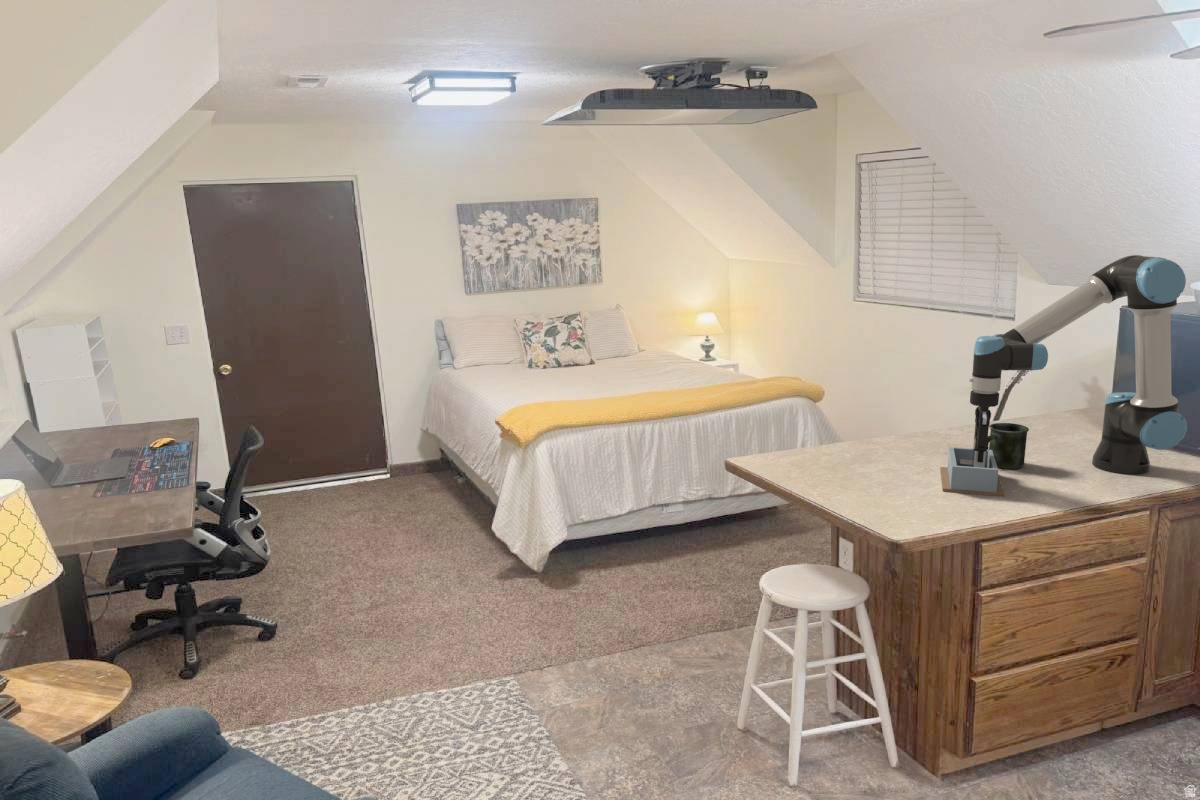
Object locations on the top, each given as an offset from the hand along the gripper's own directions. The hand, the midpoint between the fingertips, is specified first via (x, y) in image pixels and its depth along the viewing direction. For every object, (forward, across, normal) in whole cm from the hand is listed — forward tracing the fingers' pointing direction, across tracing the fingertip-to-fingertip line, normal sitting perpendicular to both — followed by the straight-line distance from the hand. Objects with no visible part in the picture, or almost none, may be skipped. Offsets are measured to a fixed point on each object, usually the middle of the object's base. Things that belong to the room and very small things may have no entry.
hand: (977, 469), depth 259 cm
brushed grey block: (+1, 0, -2) cm, 2 cm away
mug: (+4, -20, +8) cm, 22 cm away
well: (+4, 0, -2) cm, 4 cm away
